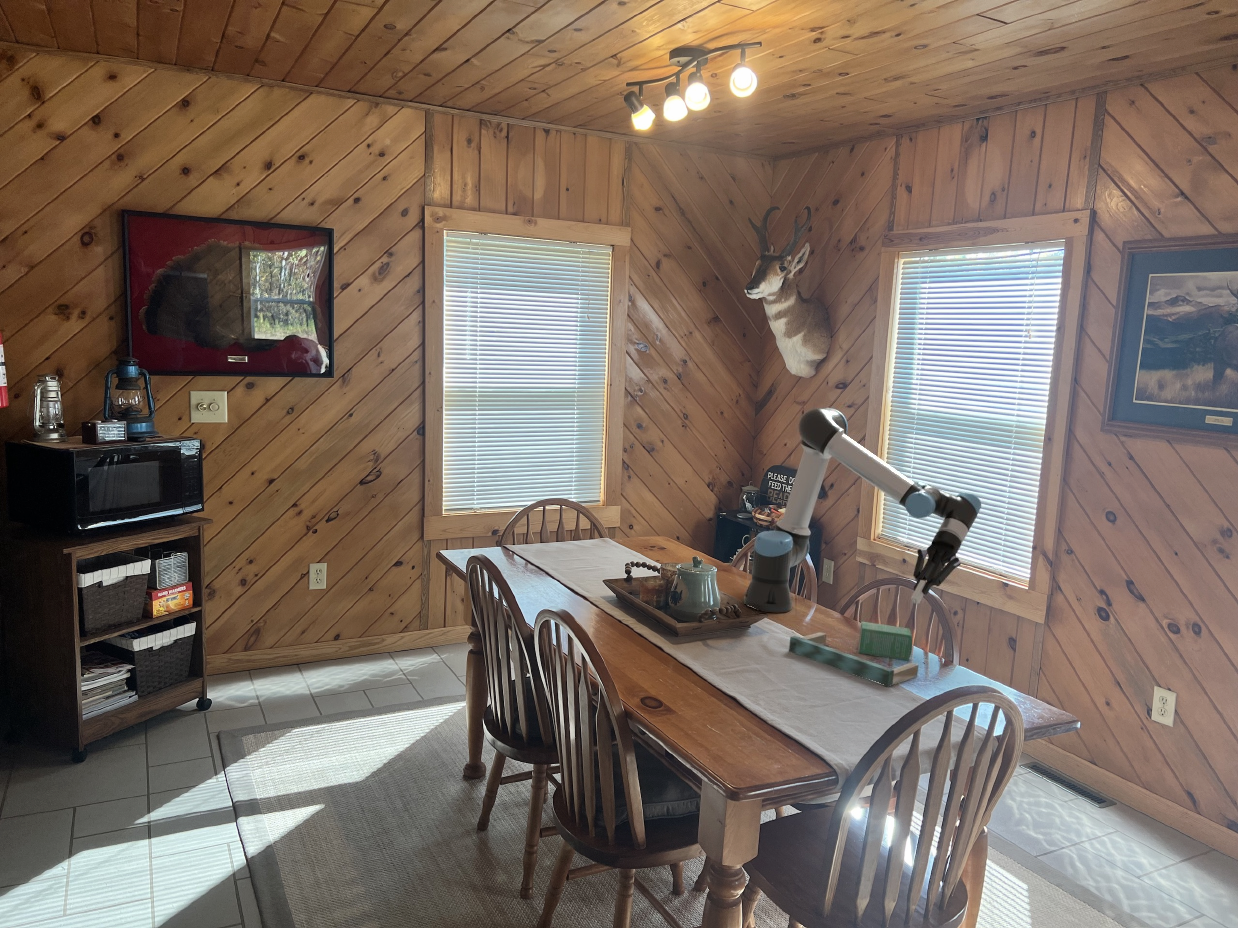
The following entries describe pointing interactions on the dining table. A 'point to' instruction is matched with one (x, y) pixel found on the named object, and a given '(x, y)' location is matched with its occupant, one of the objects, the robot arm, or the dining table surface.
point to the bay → (849, 660)
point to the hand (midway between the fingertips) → (914, 600)
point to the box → (885, 641)
